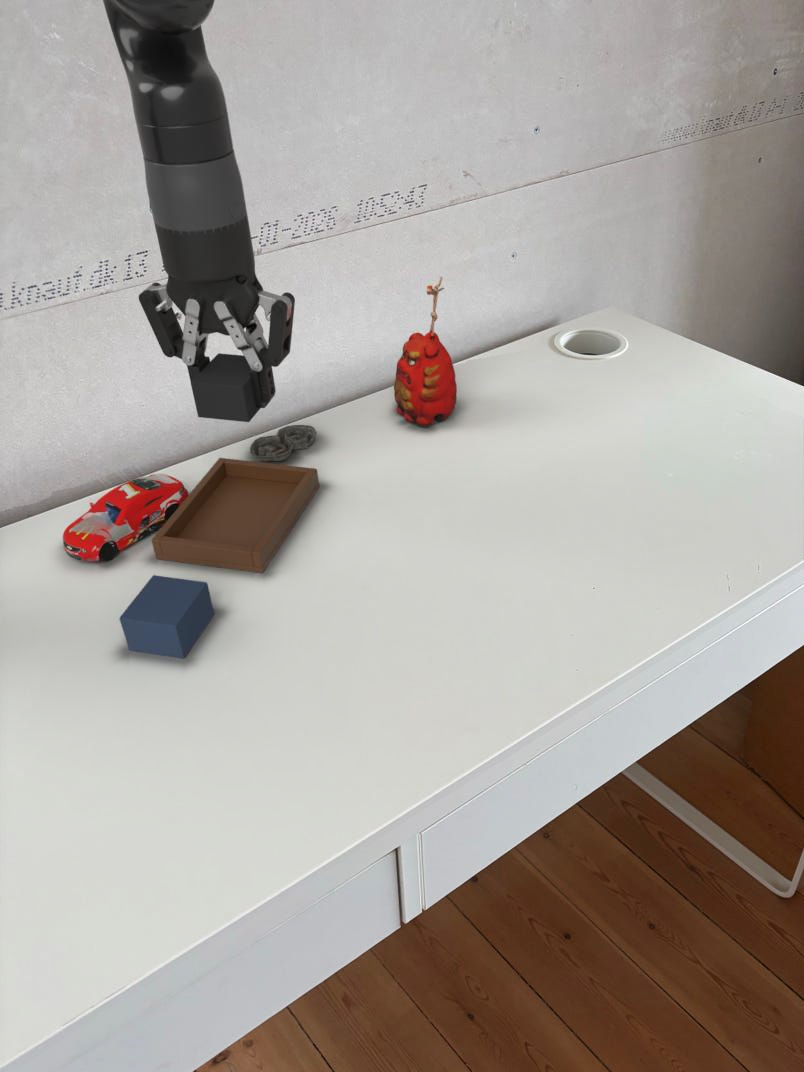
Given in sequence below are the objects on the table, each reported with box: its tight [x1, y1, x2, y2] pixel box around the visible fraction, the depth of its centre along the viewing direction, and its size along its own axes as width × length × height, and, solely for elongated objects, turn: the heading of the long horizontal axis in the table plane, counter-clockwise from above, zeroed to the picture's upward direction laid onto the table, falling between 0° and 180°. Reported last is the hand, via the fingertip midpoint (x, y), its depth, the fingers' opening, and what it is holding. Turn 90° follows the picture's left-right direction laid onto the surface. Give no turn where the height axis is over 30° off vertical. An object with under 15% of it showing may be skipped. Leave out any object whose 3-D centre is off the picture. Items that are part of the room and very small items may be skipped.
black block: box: [190, 353, 261, 423], centre depth 93 cm, size 5×6×4 cm
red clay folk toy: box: [393, 276, 458, 428], centre depth 110 cm, size 8×7×15 cm
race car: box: [62, 473, 189, 562], centre depth 96 cm, size 13×5×4 cm, turn 143°
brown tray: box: [151, 457, 320, 574], centre depth 98 cm, size 11×15×2 cm
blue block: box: [118, 574, 215, 659], centre depth 85 cm, size 5×6×4 cm
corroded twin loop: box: [249, 424, 317, 463], centre depth 109 cm, size 5×8×1 cm, turn 136°
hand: (235, 400), depth 94 cm, fingers closed on black block, 5 cm apart
